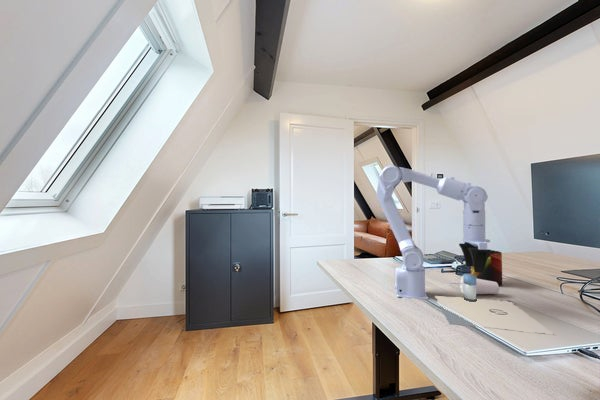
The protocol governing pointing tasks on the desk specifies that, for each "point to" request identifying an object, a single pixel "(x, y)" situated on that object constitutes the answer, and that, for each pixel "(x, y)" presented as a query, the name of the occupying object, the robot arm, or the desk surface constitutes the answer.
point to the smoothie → (481, 286)
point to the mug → (491, 268)
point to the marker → (469, 287)
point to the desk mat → (457, 318)
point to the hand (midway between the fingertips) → (474, 268)
